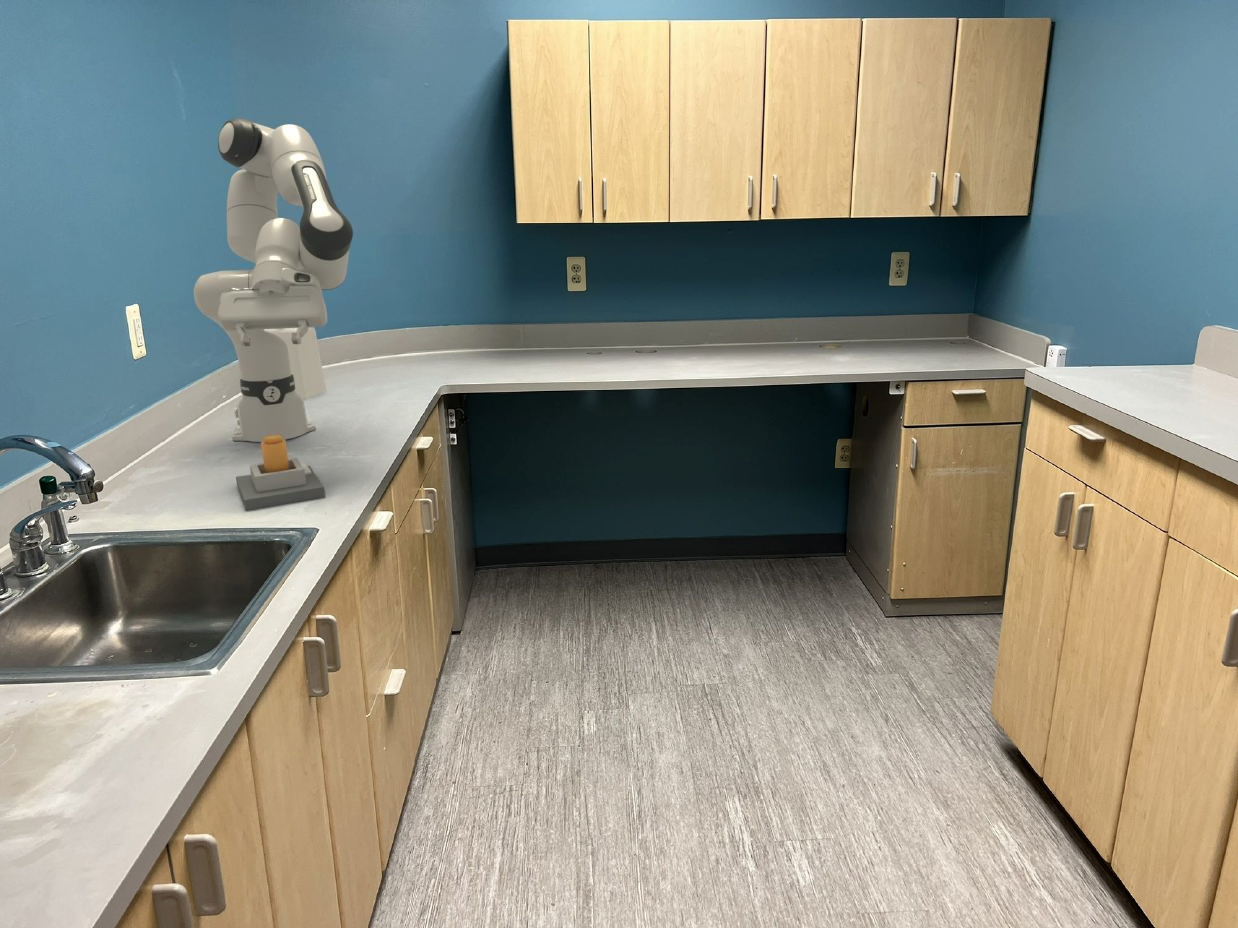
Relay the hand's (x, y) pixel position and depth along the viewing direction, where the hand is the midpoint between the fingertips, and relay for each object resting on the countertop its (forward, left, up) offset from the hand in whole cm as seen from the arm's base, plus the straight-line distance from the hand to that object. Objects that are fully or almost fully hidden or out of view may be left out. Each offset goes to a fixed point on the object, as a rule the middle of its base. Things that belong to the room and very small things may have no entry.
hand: (270, 343), depth 167 cm
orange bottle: (+8, -3, -25) cm, 27 cm away
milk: (-83, +14, -28) cm, 88 cm away
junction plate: (+8, -3, -27) cm, 29 cm away
